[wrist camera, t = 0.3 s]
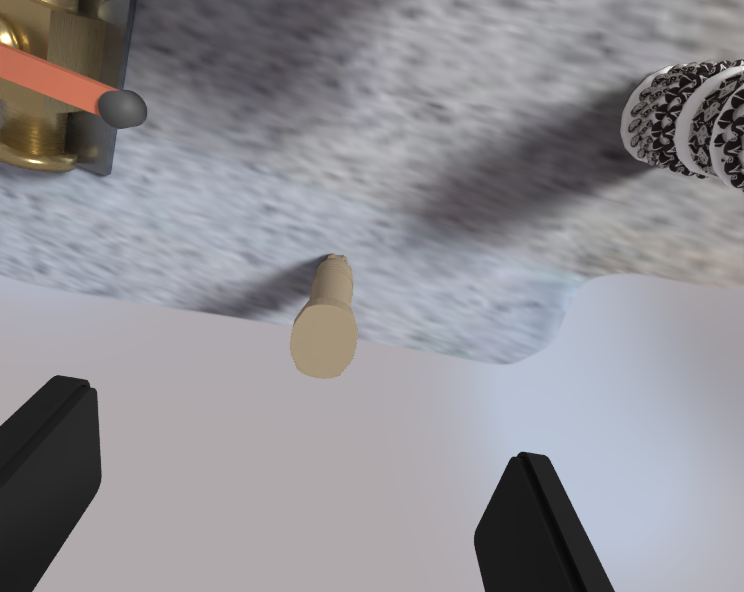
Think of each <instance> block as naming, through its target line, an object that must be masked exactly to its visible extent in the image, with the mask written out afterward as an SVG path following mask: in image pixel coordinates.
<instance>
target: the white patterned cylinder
mask: <svg viewBox="0 0 744 592" xmlns="http://www.w3.org/2000/svg"><path fill="white" fill-rule="evenodd" d="M620 133H621V137H622V140H623V143H624V147H625V149H626V150H627V151H628V152H629V153H630V154H631V155H632V156H633V157H634V158H635V159H637V160H640V161H643V162H646V163H648V164H649V165H651V166H653V165H655V164H658V167H659V168H661V169H664V168H668V167H669V168H670V170H671V171H673V172H680V171H681V173H682V174H684V175H686V176H692V175H694V174H696V176H697V177H698V178H701V179H704V178H707V177H712V178H715V179H722V180H723V182H724V183H725V184H726V185H728V186H731V187H734V188H737V189H740V190H742V191H743V192H744V60H737V61H735V62H733V63H732V64H731V62H730V61H722V62H720V63H718V64H716V63H715V62H714V61H706V62H703V63H700V62H693V63H690V64H684V65H676V66H668V67H665V68H663V69H661V70H659V71H657V72H655V73H654V74H652V75H650V76H648V77H647V78H646V79H645V80H644V81H643V82H642V83H641V84H640V85H639V86H638V87H637V88H636V89H635V90H634V91H633V92H632V94H631V96H630V98H629V100H628V102H627V104H626V106H625V108H624V110H623V112H622V120H621V128H620Z"/></svg>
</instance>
